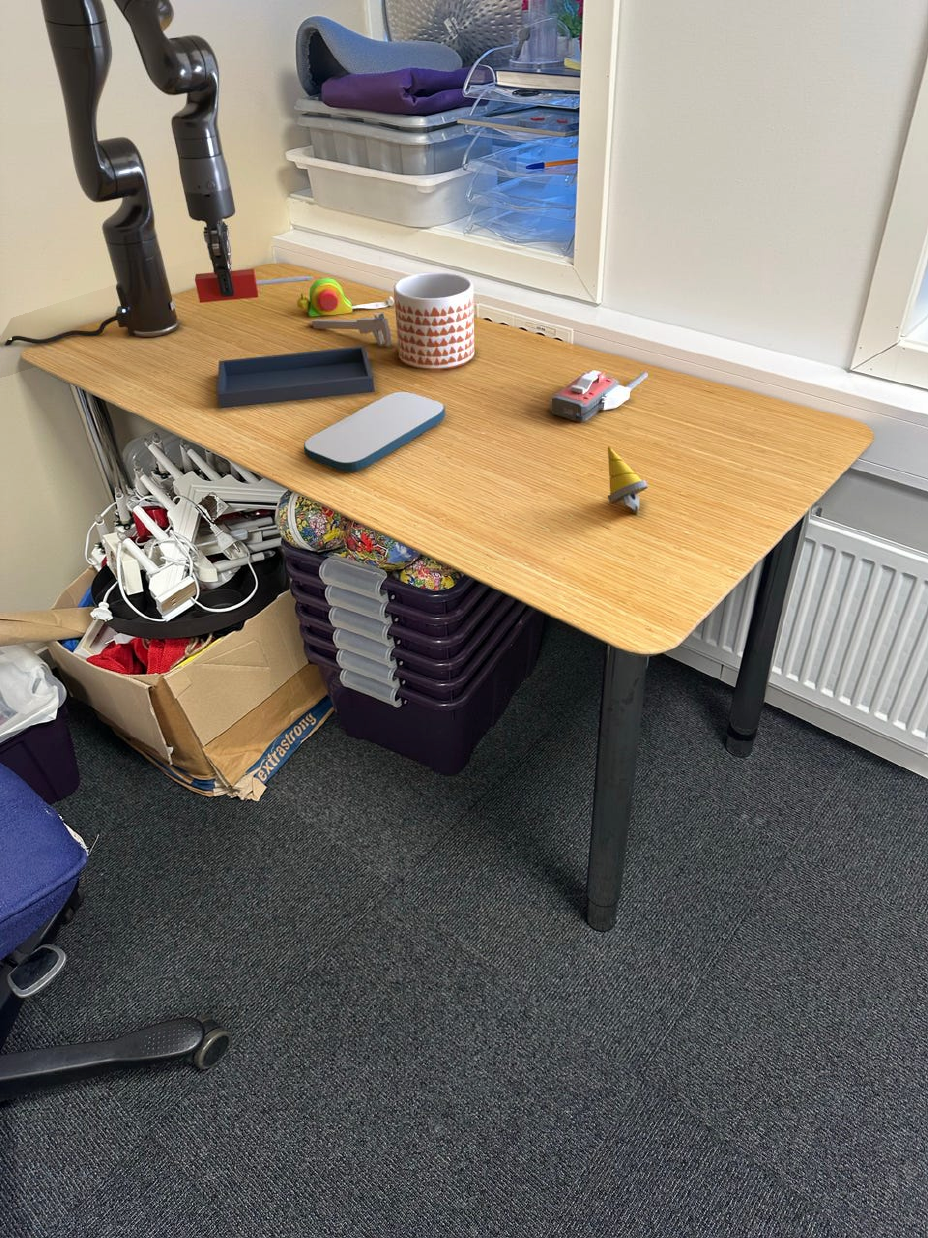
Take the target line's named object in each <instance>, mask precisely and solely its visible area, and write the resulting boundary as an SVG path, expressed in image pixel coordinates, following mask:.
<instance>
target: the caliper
mask: <svg viewBox="0 0 928 1238" xmlns="http://www.w3.org/2000/svg"><path fill="white" fill-rule="evenodd" d="M373 316H374V317H360V318H358V319H354V320H353V319H323V318H322V319H317V318H316V319H313V320H312V321H311V322H310V323H308V326H311V327H312V326H313V329H320V330H321V329H325V330H354V331H355V330H358V331H359V334H360V335H363V334H364V335H367V334H371V333H372V335H373V336H374V339H375V341H376V343H377V344H378V345H379V346H381V345H383V344H384V345H385V347H390V346H391V345H392V335H391V328H390V325H389V321H388V319H387V318H385V315H384V312H381V313H379V312H376V313H374V315H373Z"/></svg>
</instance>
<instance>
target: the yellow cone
mask: <svg viewBox="0 0 928 1238" xmlns="http://www.w3.org/2000/svg"><path fill="white" fill-rule="evenodd" d="M607 458H608V476H609V495H608V496H607V499H608V501H609V503H610V504H616V503H619V502H622V501H623V503H624V505H626V506H627V507H629V508H631V510H632V512H634V513H635V514H636V515H638V514H639V508H640V498H639V495H638V494H640V493H641V492H643V491H645V490H646V489H648V488H649V486H648V484H647V481H646V479H641V478H640V477H639V476H638V475H637V474H636V473H635V472H634V470H632V468H630V466H629V465H628V464H626V462H625V461H624V460H623V459H622V458H621V457H620V456H619V455H618V454H617V453H616V452H615V451H614V450H613V449H612V448H611V447H610V446H607Z"/></svg>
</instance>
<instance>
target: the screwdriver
mask: <svg viewBox="0 0 928 1238" xmlns="http://www.w3.org/2000/svg"><path fill="white" fill-rule="evenodd" d="M231 279H232V284H233V289H234V295H233V296H230V297H223V296H222V295H221V291H220V287H219V282H218V277H217V275H215V273H214V271H213V272H204V273H203V272H202V273H196V274H195V277H194V282H195V286H196V291H197V295H198V301H199V303H200V304H203V303H213V302H224V301H235V300H243V299H255V298H259V288H258V286H265V285H276V284H287V283H297V282H308V281H311V280H314V278H313V275H300V276H290V277H279V278H270V279H269V278H268V279H258V280H257V277H256V271H255V268H247V269H235V270H234V269H233V270H232V271H231Z"/></svg>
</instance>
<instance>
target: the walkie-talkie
mask: <svg viewBox="0 0 928 1238" xmlns="http://www.w3.org/2000/svg"><path fill="white" fill-rule="evenodd" d="M648 376H649V375H648V372H643V373H641V374H639V376H637V377H635V379H633V380H632V381H631V382H629V383H628V384H627V385H620V384H619V381H618V380H616V379H615V378H612V377H608V376H606V373H605V372H603V371H599V370H596V369H595V370H594V369H590V370H589V371H587V372H586V373H583V374H581V375H580V376H578V377H577V378H576V379H574V380H573V381H571V382H570V383H569V384H568V385H566V386H564V387H563V388H562V389H560V390H559V391H558V392H557V393H555V394H554V395H552V396H551V399H550V400H551V402H550V412H551V414H553V415H555V416H558V417H561V418H565V419H567V420H568V419H569V420H572V421H575V422H578V423H582V422H587V421H588V420H589V419H591V418H592V417H593V416H595V415H596V414H597V413H598V412H600V411H601V410H602V411H608V410H612V409H617V408H619V406H620V405H622V404H623V403H624V402H626V401H628V400H630V395H631V394H630V393H631V391H632V390H633V389H634V388H636V387H637V386H639V385H640V384H641V382H642V381H644V380H645V379H646V378H647V377H648Z"/></svg>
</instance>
